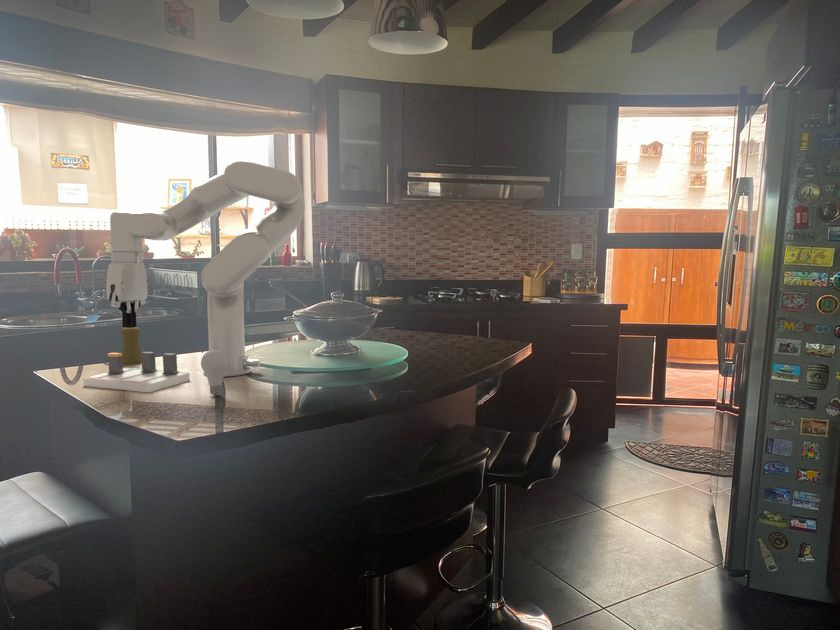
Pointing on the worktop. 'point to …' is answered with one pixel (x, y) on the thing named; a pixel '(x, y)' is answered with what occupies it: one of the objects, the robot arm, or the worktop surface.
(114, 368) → the breaker
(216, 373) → the lightbulb
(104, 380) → the breaker panel
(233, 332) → the robot arm
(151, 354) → the breaker
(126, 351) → the cork
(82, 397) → the worktop surface
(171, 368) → the breaker
